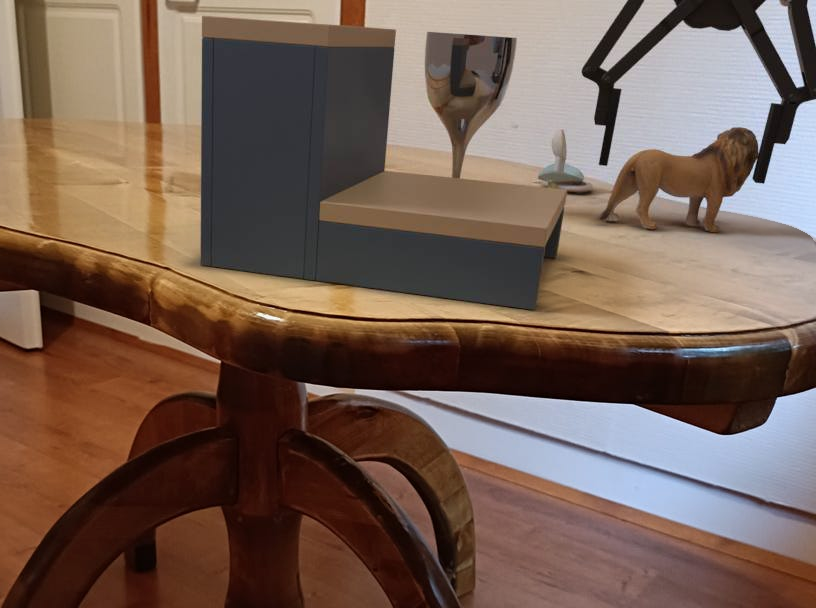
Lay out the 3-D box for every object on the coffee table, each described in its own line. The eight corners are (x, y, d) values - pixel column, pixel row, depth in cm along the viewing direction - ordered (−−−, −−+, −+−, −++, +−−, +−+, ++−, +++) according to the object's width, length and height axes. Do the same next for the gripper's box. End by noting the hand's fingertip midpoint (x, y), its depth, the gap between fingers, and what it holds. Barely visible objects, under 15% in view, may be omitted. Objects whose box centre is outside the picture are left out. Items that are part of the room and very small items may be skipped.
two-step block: (556, 256, 73) (590, 43, 67) (534, 310, 58) (576, 41, 52) (284, 223, 78) (292, 22, 72) (200, 265, 63) (201, 15, 57)
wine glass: (494, 219, 86) (518, 37, 80) (406, 211, 87) (423, 31, 81) (495, 205, 93) (516, 38, 87) (413, 198, 94) (429, 31, 88)
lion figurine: (719, 222, 93) (741, 125, 89) (754, 233, 88) (779, 131, 85) (583, 220, 89) (600, 118, 86) (612, 231, 85) (631, 124, 81)
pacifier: (594, 189, 109) (541, 182, 111) (606, 132, 107) (552, 125, 108) (588, 198, 103) (533, 190, 104) (601, 137, 100) (543, 130, 102)
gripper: (580, -108, 78) (538, 161, 87) (915, -92, 72) (833, 195, 81) (585, -97, 85) (545, 152, 94) (892, -81, 79) (819, 183, 88)
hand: (679, 172), depth 87 cm, fingers open, 13 cm apart
